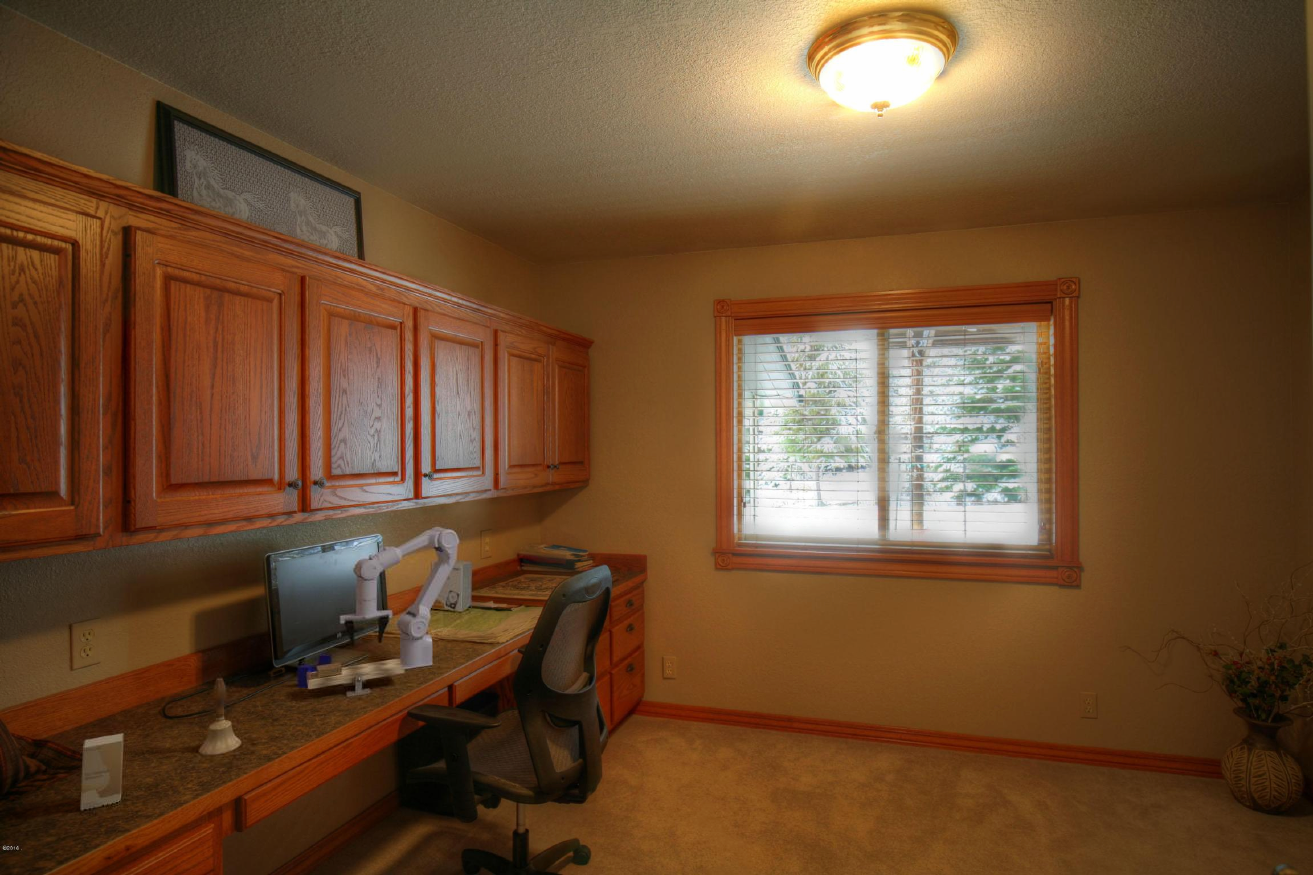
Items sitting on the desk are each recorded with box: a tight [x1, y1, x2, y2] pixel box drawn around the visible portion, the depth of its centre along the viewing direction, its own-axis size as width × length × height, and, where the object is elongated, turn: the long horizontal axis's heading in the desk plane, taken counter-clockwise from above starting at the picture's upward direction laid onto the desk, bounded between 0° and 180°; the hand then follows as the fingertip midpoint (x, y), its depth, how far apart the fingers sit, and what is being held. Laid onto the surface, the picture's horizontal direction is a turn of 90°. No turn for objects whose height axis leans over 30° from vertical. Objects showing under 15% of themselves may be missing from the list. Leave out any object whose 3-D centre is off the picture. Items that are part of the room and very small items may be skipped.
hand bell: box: [198, 677, 242, 756], centre depth 160 cm, size 8×8×16 cm
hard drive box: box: [430, 560, 473, 611], centre depth 290 cm, size 16×8×20 cm, turn 72°
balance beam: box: [307, 658, 406, 690], centre depth 198 cm, size 25×7×3 cm, turn 120°
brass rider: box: [317, 662, 343, 679], centre depth 194 cm, size 6×4×3 cm
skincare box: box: [79, 732, 125, 811], centre depth 136 cm, size 6×4×12 cm
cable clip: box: [297, 653, 332, 689], centre depth 205 cm, size 12×4×6 cm, turn 175°
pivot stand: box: [342, 675, 371, 698], centre depth 198 cm, size 6×11×5 cm, turn 30°
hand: (366, 643), depth 209 cm, fingers open, 7 cm apart
